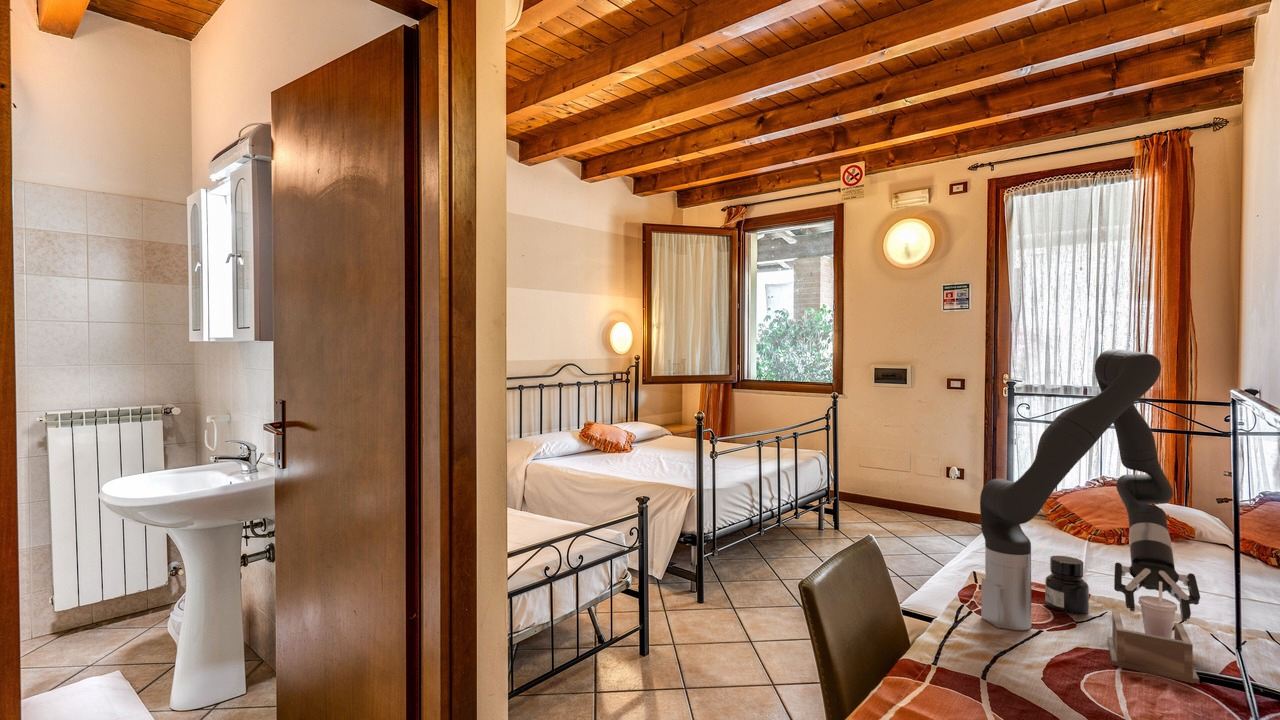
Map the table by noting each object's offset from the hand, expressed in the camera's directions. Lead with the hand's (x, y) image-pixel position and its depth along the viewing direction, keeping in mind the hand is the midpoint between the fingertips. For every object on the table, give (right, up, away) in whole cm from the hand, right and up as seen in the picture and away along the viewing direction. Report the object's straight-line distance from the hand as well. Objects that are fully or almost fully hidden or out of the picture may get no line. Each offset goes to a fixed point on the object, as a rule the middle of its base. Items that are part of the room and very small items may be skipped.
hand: (1158, 614), depth 129 cm
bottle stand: (-7, -7, -6) cm, 12 cm away
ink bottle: (-5, -8, +21) cm, 23 cm away
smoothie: (0, -7, +1) cm, 7 cm away
